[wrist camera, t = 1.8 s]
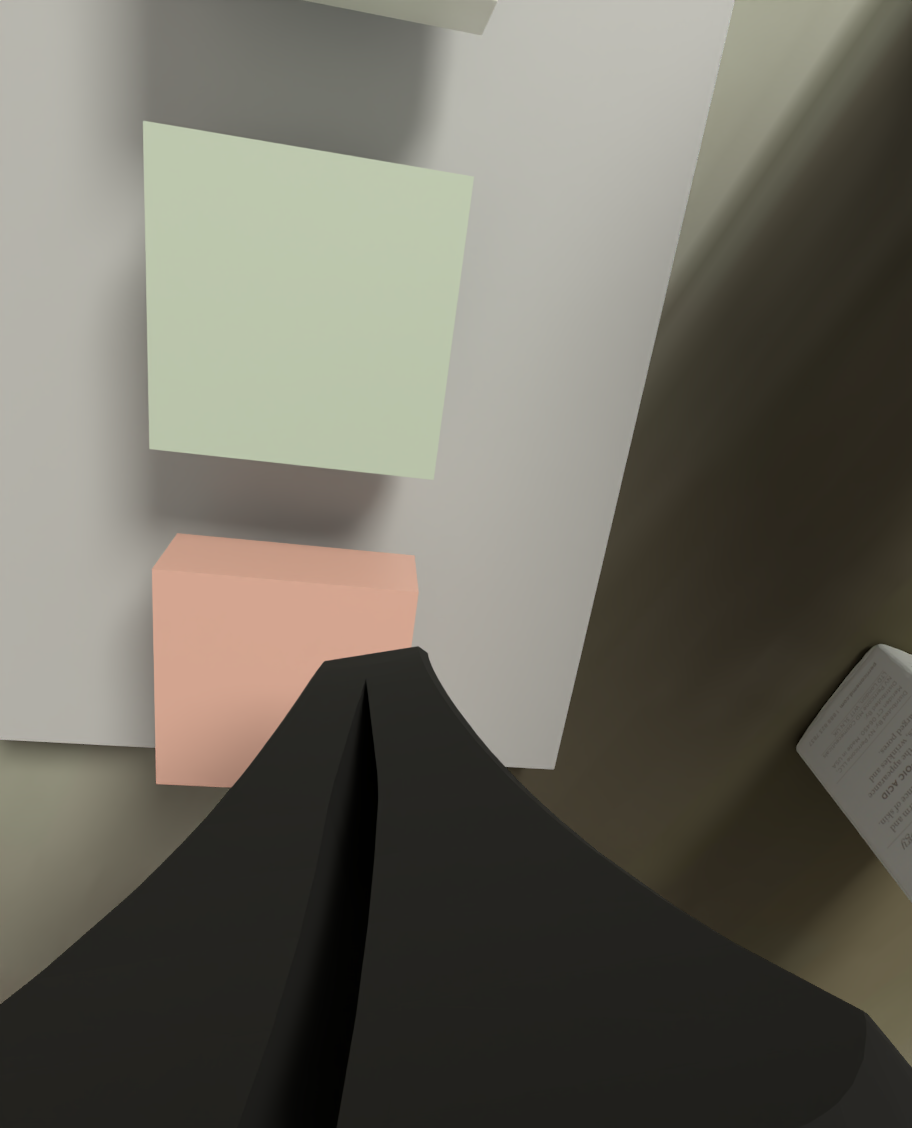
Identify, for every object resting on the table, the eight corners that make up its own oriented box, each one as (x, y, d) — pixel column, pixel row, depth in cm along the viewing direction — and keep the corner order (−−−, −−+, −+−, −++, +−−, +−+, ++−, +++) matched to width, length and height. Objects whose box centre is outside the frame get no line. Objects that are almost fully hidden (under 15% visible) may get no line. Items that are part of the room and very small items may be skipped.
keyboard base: (772, -302, 13) (822, -373, 11) (542, 733, 21) (553, 769, 20) (-99, -545, 11) (-173, -667, 9) (25, 702, 19) (-4, 739, 18)
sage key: (453, 192, 14) (474, 176, 11) (423, 435, 16) (433, 480, 13) (197, 149, 14) (142, 120, 10) (196, 408, 15) (149, 449, 12)
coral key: (411, 528, 17) (418, 592, 14) (389, 704, 19) (391, 795, 16) (195, 506, 16) (151, 569, 13) (194, 691, 18) (156, 784, 15)
